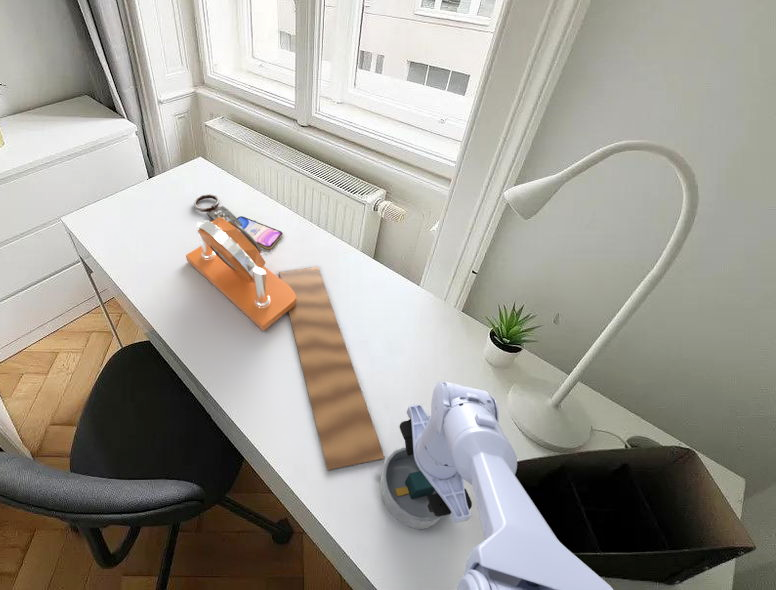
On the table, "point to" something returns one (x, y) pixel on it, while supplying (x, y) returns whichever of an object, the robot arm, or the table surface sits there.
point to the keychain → (216, 210)
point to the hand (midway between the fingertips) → (423, 479)
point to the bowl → (403, 506)
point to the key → (416, 486)
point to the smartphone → (261, 232)
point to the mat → (330, 375)
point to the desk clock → (240, 271)
